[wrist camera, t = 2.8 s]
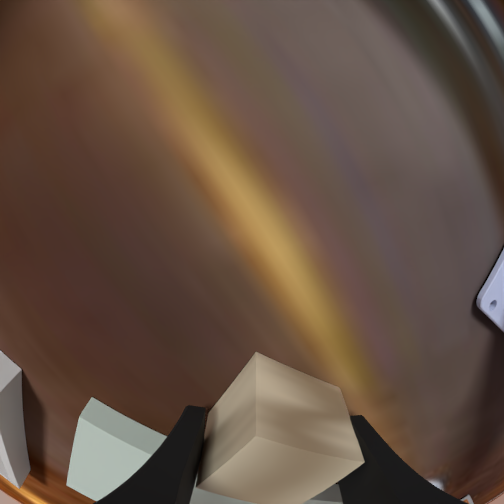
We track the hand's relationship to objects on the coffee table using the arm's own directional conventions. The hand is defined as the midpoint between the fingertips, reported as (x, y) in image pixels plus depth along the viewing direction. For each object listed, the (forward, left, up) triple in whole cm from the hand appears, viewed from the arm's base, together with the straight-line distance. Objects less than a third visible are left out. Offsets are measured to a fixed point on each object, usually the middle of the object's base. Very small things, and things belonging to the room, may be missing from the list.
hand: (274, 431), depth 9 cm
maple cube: (0, 0, -2) cm, 2 cm away
